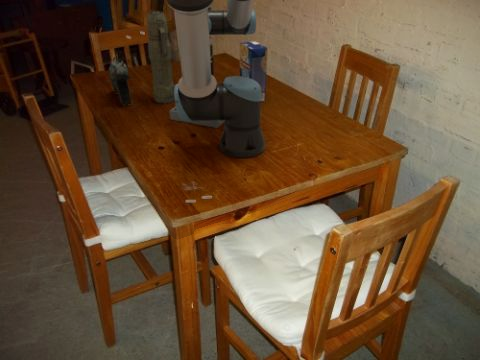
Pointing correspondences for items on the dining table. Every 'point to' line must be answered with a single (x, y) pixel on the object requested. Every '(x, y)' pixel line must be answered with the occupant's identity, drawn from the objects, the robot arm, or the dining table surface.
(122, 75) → the ceramic cat
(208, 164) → the dining table surface
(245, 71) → the beverage box
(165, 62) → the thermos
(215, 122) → the box
